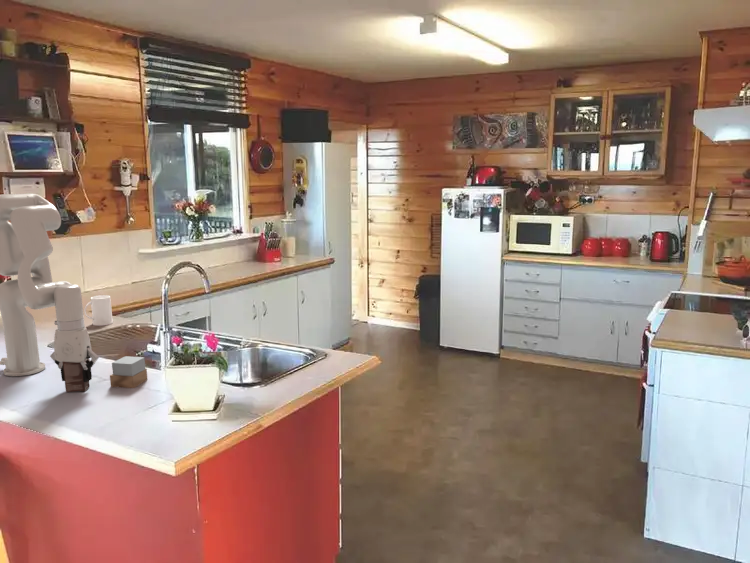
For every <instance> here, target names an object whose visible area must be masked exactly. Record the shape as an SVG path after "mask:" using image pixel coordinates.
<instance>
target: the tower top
mask: <svg viewBox="0 0 750 563" xmlns="http://www.w3.org/2000/svg"><path fill="white" fill-rule="evenodd" d="M145 358H146V357H143V356H129V355H128V356H127V355H125V356H122V357H121V358H118V359H117V360H115V361H112V362H111V365H112V366H111V367H112V368H111V369H112V374H113V375H120V376H134V375H136V374H138V373H140V372H141V371H143V370H145V369H146V362H145Z"/></svg>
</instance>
